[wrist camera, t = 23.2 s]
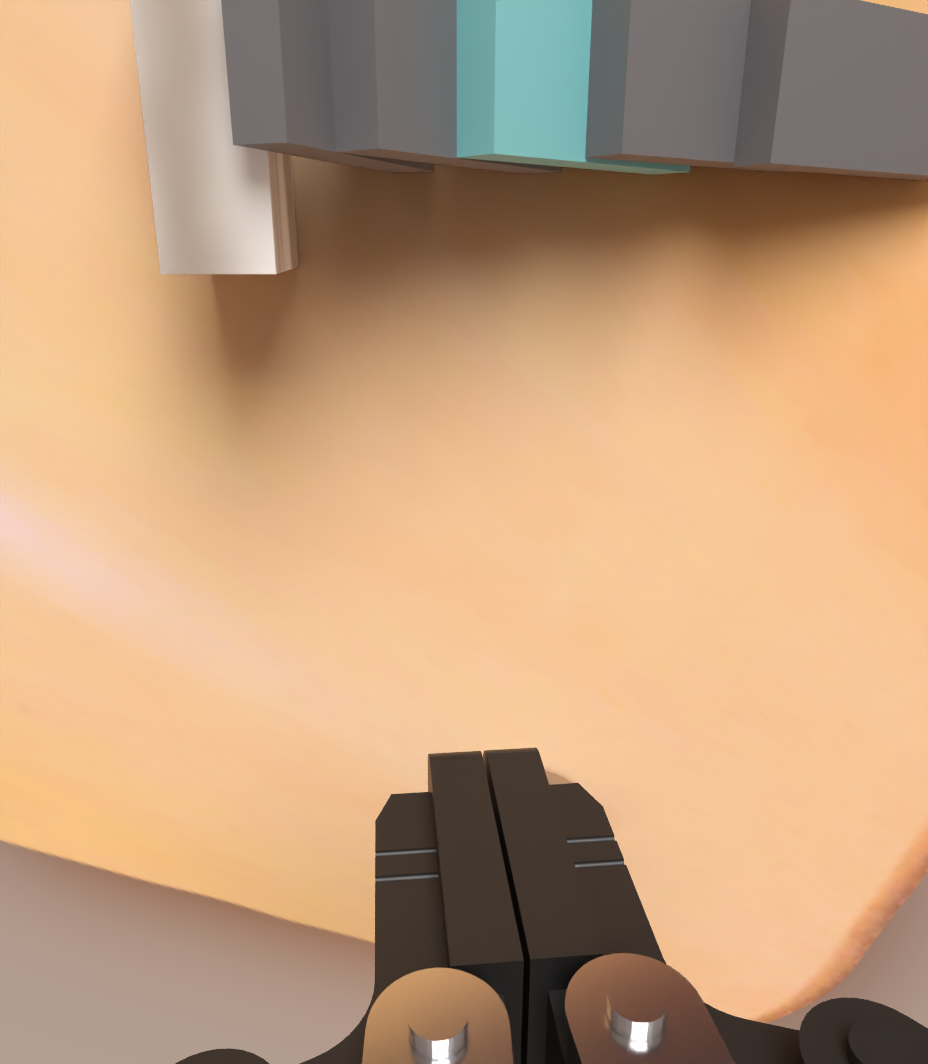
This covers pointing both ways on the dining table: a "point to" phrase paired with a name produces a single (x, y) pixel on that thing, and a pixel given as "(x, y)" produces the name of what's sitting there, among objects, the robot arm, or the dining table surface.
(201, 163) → the block
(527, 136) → the domino
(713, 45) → the domino
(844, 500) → the dining table surface
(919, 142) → the domino
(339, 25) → the domino
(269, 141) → the domino
